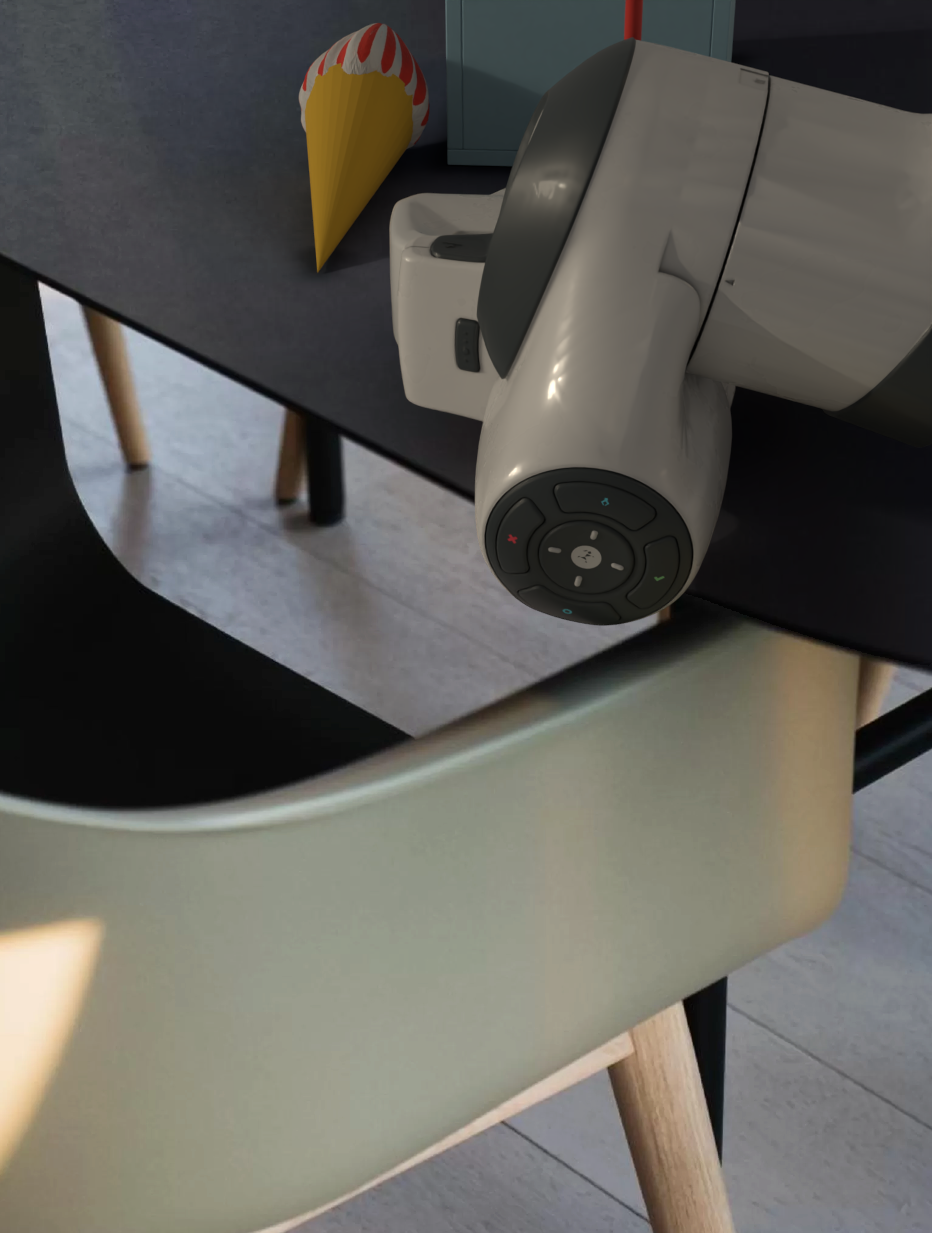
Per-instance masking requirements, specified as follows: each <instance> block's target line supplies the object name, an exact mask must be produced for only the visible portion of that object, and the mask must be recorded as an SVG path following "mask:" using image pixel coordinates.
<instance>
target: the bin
mask: <svg viewBox="0 0 932 1233" xmlns="http://www.w3.org/2000/svg"><path fill="white" fill-rule="evenodd" d="M736 1H737V0H643V13H642V35H641V41H645V42H651V43H656V44H660V45H665V46H669V47H673V48H677V49H681V50H685V51H689V52H693V53H697V54H700V55H704V56H708V57H712V58H716V59H720V60H724V61H728V62H731V63H732V57H733V44H734V42H733V41H734V30H735V15H736ZM625 3H626V0H445V57H446V58H445V66H446V69H445V70H446V71H445V74H446V76H445V77H446V136H447V137H446V147H447V148H446V149H447V150H446V156H447V157H446V160H447V165H448V166H480V167H481V166H483V167H485V166H487V167H488V166H489V167H512V166H513V163H514V160H515V157H516V154H517V151H518V149H519V146H520V143H521V141H522V138H523V135H524V133H525V130H526V128H527V126H528V123H529V121H530V119H531V117H532V115H533V113H534V111H535V109H536V107H537V105H538V103H539V101H540V100H541V98H542V97H543V95H544V94H545V93H546V92H547V91H548V90H549V89H550V88H551V87H553V86H554V85H555V84H556V83H557V82H558V81H560V80H561V79H562V78H563V77H564V76H566V75H567V74H568V73H569V72H571V71H572V70H573V69H575V68H576V67H577V66H579V65H580V64H581V63H583V62H584V61H585V60H587V59H588V58H590V57H591V56H593V55H594V54H596V53H597V52H599V51H601V50H603V49H605V48H607V47H608V46H611V45H613V44H615V43H617V42H620V41H623V40H624V28H625Z"/></svg>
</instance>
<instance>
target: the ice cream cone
mask: <svg viewBox="0 0 932 1233" xmlns="http://www.w3.org/2000/svg"><path fill="white" fill-rule="evenodd" d="M300 86H301V87H300V89H299V93H298V102H299V106H300V111H301V112H300V113H301V114H300V122H301V126H302V128H303V130H304V132H305V135H306V147H307V148H306V149H307V160H308V171H309V174H308V175H309V185H310V198H311V210H312V220H313V221H312V224H313V233H314V234H313V235H314V236H313V237H314V248H315V258H316V272H317V274H318V273H319V272H320V270H321V269H322V268H323V266H324V265H325V263H326V262H327V261H328V260H329V258H330V256H331V255H332V254H333V252H334V251H335V250H336V248H337V247H338V245H339V244H340V243H341V241H342V240H343V239H344V237H345V236H346V234H347V233H348V231H349V230H350V229H351V227H352V226H353V224H354V223H355V221H356V220H357V219H358V217H360V215H361V213H363V212H362V211H364V209H365V207H367V204H368V203H369V202H370V200H371V199H372V198H373V196H374V195H375V194H376V192H377V191H378V190H379V188H380V186H382V184H383V182H384V181H385V180H386V178H387V177H388V175H389V174H390V173H391V171H392V170H393V168H394V167H395V165H396V164H397V163H398V162H399V160H400V159H401V157H402V156H403V154H404V153H405V152H406V150H408V149H409V148H412V147H413V146H415V145H416V144H417V142H419V140H420V138H421V136H422V134H423V132H424V129H425V128H426V126H427V124H428V122H429V118H430V99H429V97H430V96H429V94H430V93H429V87H428V83H427V80H426V77H425V75H424V73H423V71H422V68H421V67H420V64H419V63H418V62H417V60H416V59H415V56H414V55H413V53H412V52H411V51H410V49H409V48H408V46H407V45H406V43H405V42H404V40H403V39H402V37H400V35H399V34H398V33H397V32H396V31H395V30H393V29H392V27H391V26H389V25H388V24H386V23H381V22H375V23H370V24H369V25H366V26H364V27H362V28H360V29H359V30H357V31H354V32H351V33H350V34H347V35H345V36H343V37H342V38H340V39H339V40H338V41H336V42H335V43H334V44H332V46H330V47H329V49H327V50H326V51H324V52H323V53H322V54H320V55H319V56H318V57H317V58H316V59H315V60H314V61H313V62H312V63H311V65H310V66H309V67H308V69H307V71H306V73H305V76H304V80H303V82H302V84H301V85H300Z"/></svg>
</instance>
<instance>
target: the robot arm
mask: <svg viewBox="0 0 932 1233" xmlns="http://www.w3.org/2000/svg"><path fill="white" fill-rule="evenodd" d="M388 230H389V279H390V280H389V283H390V301H391V317H392V320H391V321H392V332H393V337H394V340H395V342H396V344H397V346H398V356H399V365H400V371H401V372H400V373H401V378H402V384H403V390H404V396H405V398H406V399H407V400H408V402H410V403H411V404H413V405H416V406H419V407H422V408H424V409H425V408H426V409H428V410H434V411H437V412H438V411H439V412H442V413H443V412H444V413H448V414H451V415H456V416H460V417H464V418H467V419H471V420H472V419H473V420H475V421H479V422H482V424H481V429H480V435H479V441H478V447H477V448H478V449H477V457H476V463H475V464H476V465H475V478H474V480H475V481H474V519H475V527H476V528H475V529H476V536H477V542H478V546H479V549H480V550H479V551H480V552H481V555H482V557H483V559H484V562H485V564H486V566H487V568H488V570H489V571H490V572H491V574H492V575H493V577H494V578H495V579H496V581H497V582H498V583H499V584H500V586H502V588H504V589H505V591H506V592H508V593H509V594H510V595H511V596H513V598H515V600H517V601H519V602H520V603H522V604H523V605H524V606H526V607H529V608H531V609H532V610H534V611H537V612H539V613H541V614H545V615H548V616H551V617H554V618H558V619H560V620H564V621H567V622H568V621H569V622H574V623H577V624H584V625H590V626H601V627H604V626H606V627H607V626H617V625H624V624H628V623H632V622H636V621H640V620H642V619H645V618H648V617H652V616H653V615H655V614H658V613H660V612H661V611H664V610H665V609H667V608H668V607H670V606H671V605H673V603H675V602H676V601H677V600H678V599H679V598H681V596H682V595H683V594H684V593H686V591H687V590H688V588H689V587H690V585H691V584H692V583H693V581H694V580H695V578H696V576H697V574H698V572H699V570H700V568H701V566H702V563H703V561H704V559H705V557H706V554H707V552H708V549H709V547H710V543H711V540H712V538H713V535H714V532H715V530H716V526H717V522H718V519H719V515H720V513H721V512H720V511H721V508H722V505H723V500H724V496H725V491H726V485H727V481H728V474H729V468H730V467H729V466H730V460H731V453H732V442H733V441H732V440H733V425H732V424H733V422H732V414H731V413H732V412H731V408H732V405H733V401H734V398H735V393H736V387H738V388H741V389H742V388H743V389H747V390H750V391H754V392H756V393H757V392H758V393H761V394H765V395H770V396H773V397H776V398H780V399H784V400H787V401H792V402H796V403H799V404H803V405H808V406H811V407H814V408H818V409H821V410H822V411H823V413H824V414H826V415H827V416H829V417H832V418H834V419H837V420H840V421H842V422H845V423H848V424H851V425H853V426H856V427H860V428H862V429H865V430H868V431H870V432H873V433H875V434H879V435H881V436H883V437H886V438H889V439H892V440H895V441H897V442H901V443H902V444H904V445H905V444H906V445H909V446H911V447H914V448H925V447H928V446H930V445H932V113H919V112H913V111H908V110H902V109H899V108H895V107H891V106H888V105H884V104H880V103H876V102H872V101H868V100H865V99H861V98H857V97H854V96H850V95H846V94H843V93H840V92H834V91H831V90H827V89H824V88H820V87H816V86H812V85H808V84H804V83H800V82H798V81H793V80H790V79H785V78H781V77H778V76H774V75H769V72H768V71H765V70H762V69H758V68H754V67H750V66H747V65H743V64H740V63H739V64H738V63H735V62H732V61H731V62H728V61H724V60H720V59H716V58H712V57H708V56H704V55H700V54H697V53H693V52H689V51H685V50H681V49H677V48H673V47H669V46H665V45H660V44H656V43H651V42H645V41H640V40H635V39H634V38H633V37H631V38H628V39H625V40H623V41H620V42H617V43H615V44H613V45H611V46H608V47H607V48H605V49H603V50H601V51H599V52H597V53H596V54H594V55H593V56H591V57H590V58H588V59H587V60H585V61H584V62H583V63H581V64H580V65H579V66H577V67H576V68H575V69H573V70H572V71H571V72H569V73H568V74H567V75H566V76H564V77H563V78H562V79H561V80H560V81H558V82H557V83H556V84H555V85H554V86H553V87H551V88H550V89H549V90H548V91H547V92H546V93H545V94H544V95H543V97H542V98H541V100H540V101H539V103H538V105H537V107H536V109H535V111H534V113H533V115H532V117H531V119H530V121H529V123H528V126H527V128H526V130H525V133H524V135H523V138H522V141H521V143H520V146H519V149H518V151H517V154H516V157H515V160H514V163H513V166H511V169H510V173H509V176H508V179H507V183H506V186H505V187H504V188H502V189H500V190H498V191H496V192H493V193H491V194H468V193H467V194H466V193H438V192H437V193H436V192H434V193H433V192H422V193H417V194H412V195H410V196H408V197H405V198H402V199H400V200H398V201H397V202H396V203H395V204H394V206H393V208H392V212H391V215H390V219H389V229H388Z"/></svg>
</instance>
